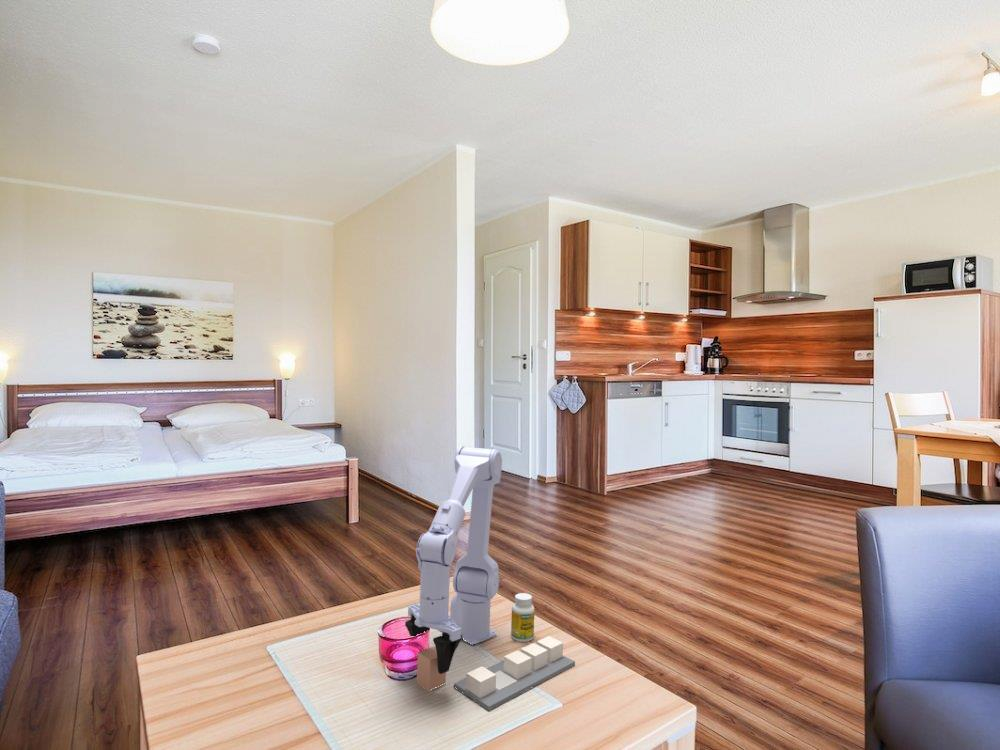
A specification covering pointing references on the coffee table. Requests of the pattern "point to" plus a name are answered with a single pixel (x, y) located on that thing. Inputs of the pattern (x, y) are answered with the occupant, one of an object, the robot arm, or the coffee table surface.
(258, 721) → the coffee table surface
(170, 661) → the coffee table surface
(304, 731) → the coffee table surface
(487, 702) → the block set board
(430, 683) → the terracotta block
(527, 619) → the supplement bottle
